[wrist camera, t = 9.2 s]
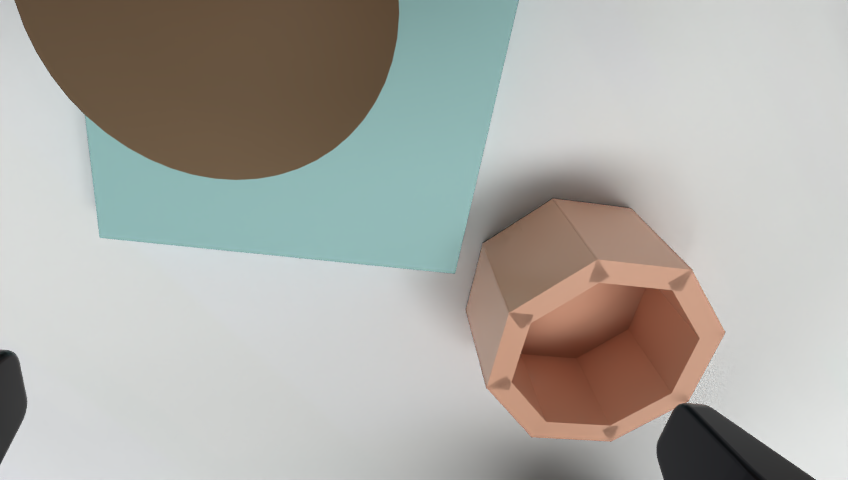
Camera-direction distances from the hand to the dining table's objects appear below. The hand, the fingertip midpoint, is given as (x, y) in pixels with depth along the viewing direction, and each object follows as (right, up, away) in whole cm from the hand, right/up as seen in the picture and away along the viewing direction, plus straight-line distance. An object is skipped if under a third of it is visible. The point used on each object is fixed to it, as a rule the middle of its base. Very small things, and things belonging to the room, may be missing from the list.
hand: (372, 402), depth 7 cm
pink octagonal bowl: (+6, 0, +15) cm, 16 cm away
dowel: (-2, +10, +7) cm, 12 cm away
